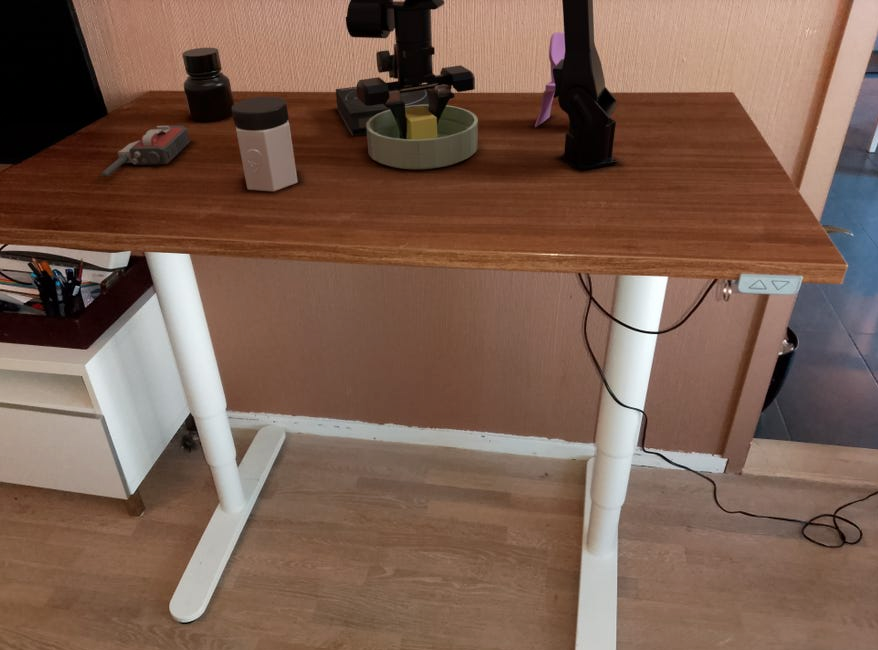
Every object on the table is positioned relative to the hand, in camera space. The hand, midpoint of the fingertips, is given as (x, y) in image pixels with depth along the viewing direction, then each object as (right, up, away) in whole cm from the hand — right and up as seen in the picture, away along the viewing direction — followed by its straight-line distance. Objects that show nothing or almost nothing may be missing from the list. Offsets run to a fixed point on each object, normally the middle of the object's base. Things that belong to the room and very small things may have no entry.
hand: (417, 137), depth 122 cm
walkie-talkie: (-46, -3, +3) cm, 46 cm away
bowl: (+1, -3, -1) cm, 3 cm away
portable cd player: (-5, +8, +15) cm, 17 cm away
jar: (-23, -10, -8) cm, 27 cm away
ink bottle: (-40, +11, +22) cm, 47 cm away
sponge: (0, -1, +1) cm, 1 cm away
